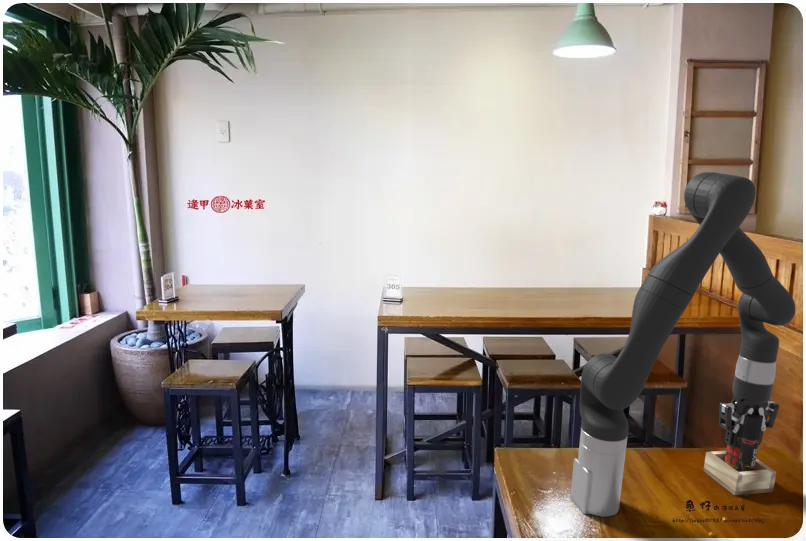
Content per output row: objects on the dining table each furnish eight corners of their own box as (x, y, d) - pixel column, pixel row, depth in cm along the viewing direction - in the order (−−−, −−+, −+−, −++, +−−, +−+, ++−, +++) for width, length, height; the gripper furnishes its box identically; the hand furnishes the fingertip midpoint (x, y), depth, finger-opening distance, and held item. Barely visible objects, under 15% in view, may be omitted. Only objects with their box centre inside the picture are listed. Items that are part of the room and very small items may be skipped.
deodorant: (726, 462, 133) (735, 404, 130) (754, 471, 129) (765, 412, 126) (721, 472, 129) (730, 413, 126) (750, 482, 125) (761, 421, 122)
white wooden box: (734, 495, 124) (737, 475, 123) (703, 470, 133) (706, 452, 132) (772, 491, 126) (776, 472, 125) (739, 467, 135) (742, 449, 134)
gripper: (739, 384, 119) (727, 455, 123) (795, 381, 122) (782, 451, 125) (714, 371, 127) (703, 438, 130) (768, 369, 129) (756, 434, 133)
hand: (742, 444), depth 128 cm, fingers closed on deodorant, 6 cm apart
